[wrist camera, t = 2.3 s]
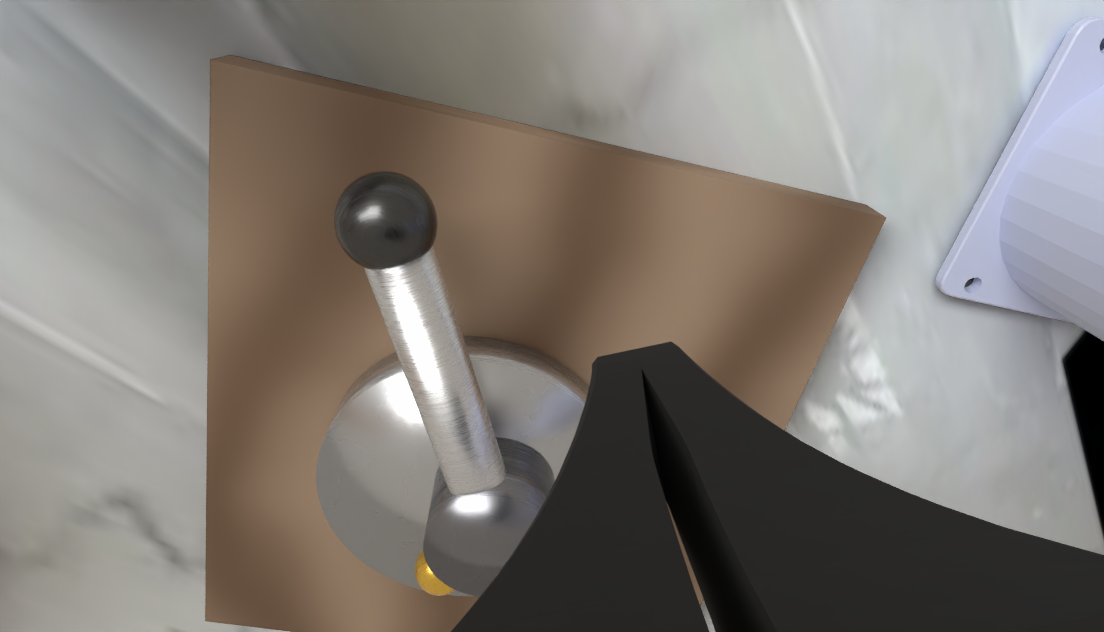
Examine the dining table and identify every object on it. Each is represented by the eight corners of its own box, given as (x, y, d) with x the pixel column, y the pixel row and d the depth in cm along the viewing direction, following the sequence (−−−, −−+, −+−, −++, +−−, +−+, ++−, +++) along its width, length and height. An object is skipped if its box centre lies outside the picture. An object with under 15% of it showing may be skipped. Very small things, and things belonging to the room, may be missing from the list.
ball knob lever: (657, 638, 25) (679, 748, 22) (431, 679, 26) (416, 793, 22) (537, 109, 16) (541, 145, 13) (196, 190, 17) (105, 247, 13)
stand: (866, 204, 19) (905, 230, 17) (660, 650, 28) (671, 701, 26) (230, 54, 17) (190, 64, 15) (218, 594, 25) (192, 646, 23)
